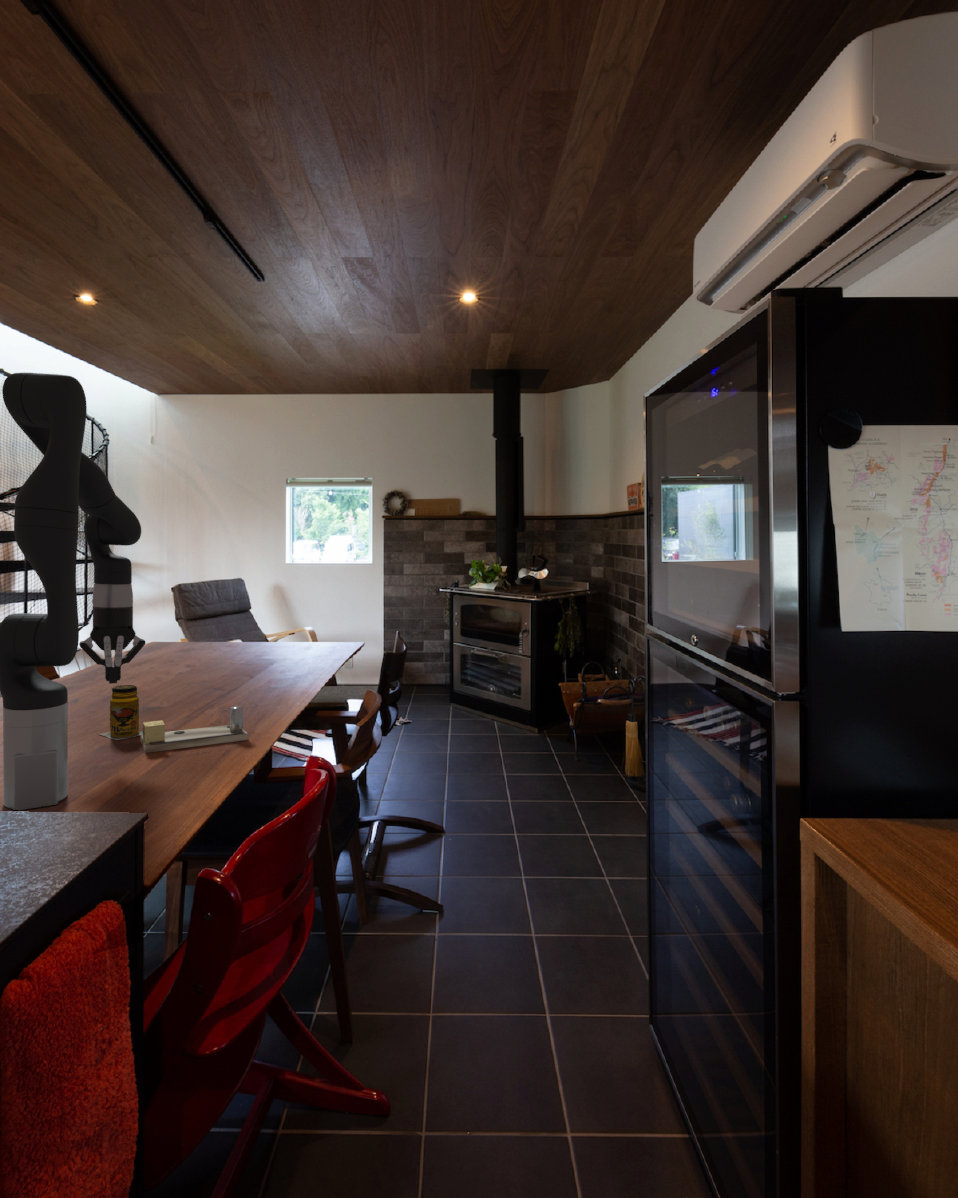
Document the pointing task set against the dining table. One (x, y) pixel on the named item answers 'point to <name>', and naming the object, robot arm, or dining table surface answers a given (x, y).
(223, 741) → the board
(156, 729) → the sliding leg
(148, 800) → the dining table surface
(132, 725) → the condiment
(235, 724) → the silver cylinder with leg
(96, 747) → the dining table surface
